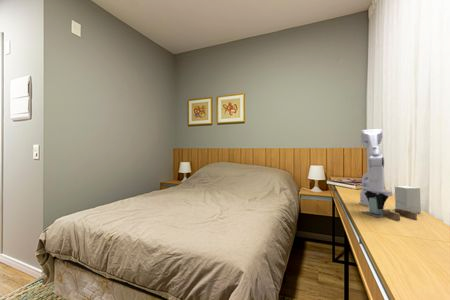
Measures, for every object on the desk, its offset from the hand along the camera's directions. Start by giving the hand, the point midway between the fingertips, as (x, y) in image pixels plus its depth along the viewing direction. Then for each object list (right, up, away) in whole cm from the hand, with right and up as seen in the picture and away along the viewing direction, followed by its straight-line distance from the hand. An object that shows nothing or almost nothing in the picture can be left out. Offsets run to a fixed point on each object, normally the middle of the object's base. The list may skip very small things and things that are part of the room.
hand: (376, 207), depth 101 cm
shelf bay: (+7, -3, -5) cm, 9 cm away
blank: (0, -2, 0) cm, 2 cm away
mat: (0, -3, 0) cm, 3 cm away
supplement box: (+20, -4, +5) cm, 21 cm away
